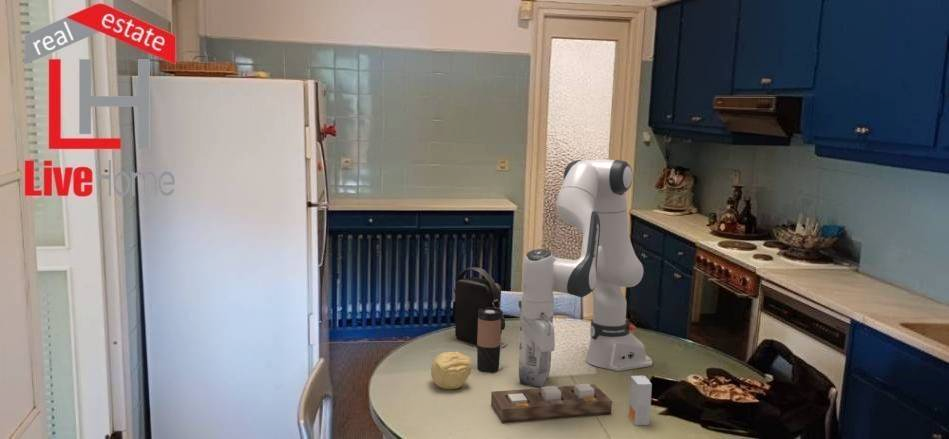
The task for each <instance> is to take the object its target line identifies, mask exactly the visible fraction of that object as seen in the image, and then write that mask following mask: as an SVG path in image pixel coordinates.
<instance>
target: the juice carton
mask: <svg viewBox="0 0 949 439" xmlns="http://www.w3.org/2000/svg"><path fill="white" fill-rule="evenodd" d="M553 317H554V315H553V316H552V317H550V318H549V319H550V322H551V323H552V324H553V321H554V319H553ZM519 324H520V323H519ZM553 325H554V324H553ZM518 352H519V353H518V354H519V355H518V376H519V377H518V378H519V383H520V384H523V385H527V386H529V385H530V386H535V387H539V388H542V387H544V384H545V382H546V381H547V379H548V378H549V375H550V371H551V363H552V351H550V352H542V351H541V357H540V358H536V357H535V356H534V355H533V354H532V346H531V339H530V338H529V337H528V336H527V335H526V334H525V332H524V331H523V330H522V329H521V324H520V325H519V350H518Z"/></svg>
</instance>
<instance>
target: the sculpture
mask: <svg viewBox="0 0 949 439" xmlns="http://www.w3.org/2000/svg"><path fill="white" fill-rule="evenodd" d="M471 368H472V362H471V358H470V356H468V355H465V354H464V353H461V352H459V351H458V350H457V351H446V352H445V351H444V352H441V353H440V354H438V355H437V356H436V357H435V358H434V359H433V360H432V363H431V367H430V375H431V378H432V380H433V383H434V384H435V385H436V386H437V387H439V388H440V389H444V390H455V389H459V388H461V387H463V385H464V384H465V383H466V381H467V380H468V378H469V376H470V375H471V372H472V370H471Z"/></svg>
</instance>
